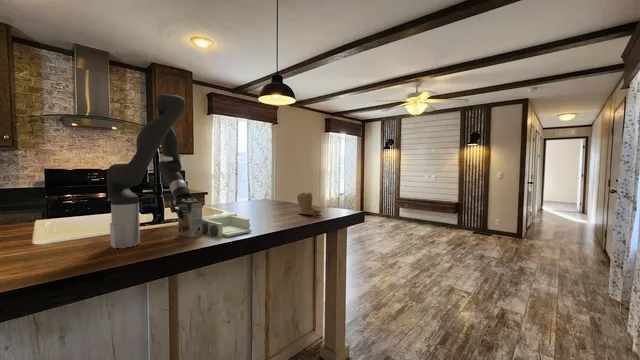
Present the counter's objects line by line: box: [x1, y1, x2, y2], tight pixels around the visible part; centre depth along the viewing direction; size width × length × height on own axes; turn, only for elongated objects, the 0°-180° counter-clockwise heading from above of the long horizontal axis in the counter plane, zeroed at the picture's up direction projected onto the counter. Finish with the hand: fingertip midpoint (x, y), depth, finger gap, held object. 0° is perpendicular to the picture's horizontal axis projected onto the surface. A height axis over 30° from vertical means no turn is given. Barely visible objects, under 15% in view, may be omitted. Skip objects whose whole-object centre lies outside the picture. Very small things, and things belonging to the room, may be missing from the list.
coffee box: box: [177, 200, 203, 238], centre depth 131 cm, size 9×6×16 cm
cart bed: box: [202, 214, 252, 238], centre depth 137 cm, size 19×21×6 cm
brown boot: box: [296, 191, 322, 216], centre depth 187 cm, size 15×12×15 cm
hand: (191, 217), depth 130 cm, fingers open, 8 cm apart
